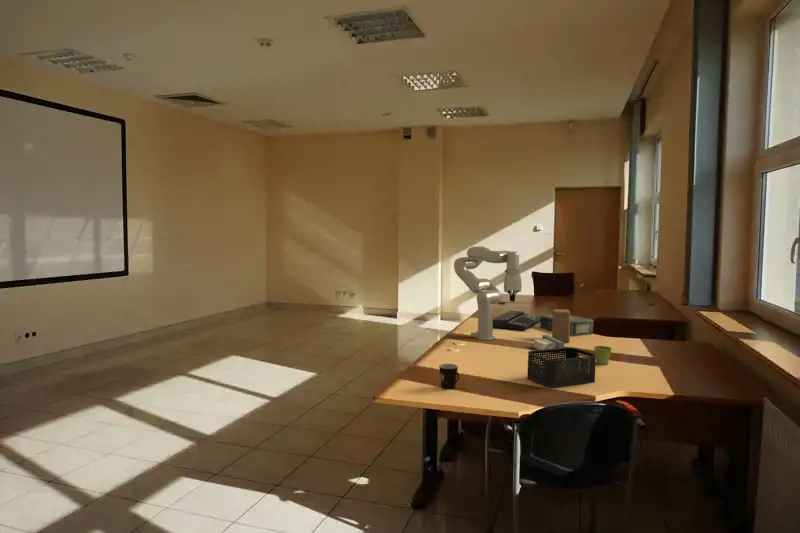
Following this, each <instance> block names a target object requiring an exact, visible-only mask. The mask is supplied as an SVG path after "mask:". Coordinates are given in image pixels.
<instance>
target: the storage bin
mask: <svg viewBox="0 0 800 533" xmlns="http://www.w3.org/2000/svg"><path fill="white" fill-rule="evenodd" d="M554 350H555V351H554ZM561 351H562V352H561ZM563 351H564V352H563ZM579 354H582V355H584V356H582V357H581V356H580V355H579ZM596 364H597V363H596V355H595V353H593V352H588V351H586V350H582V349H579V348H576V347H571V346H569V347H564V348H556V349H546V350H538V349H536V350H529V351H528V352H527V375H526V376H527V377H526V378H527V379H529V380H530V381H532V382H534V383H537V384H539V385H541V386H543V387H547V388H560V387H561V388H562V387H568V386H570V387H571V386H577V385H583V384H591V383H596Z"/></svg>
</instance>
